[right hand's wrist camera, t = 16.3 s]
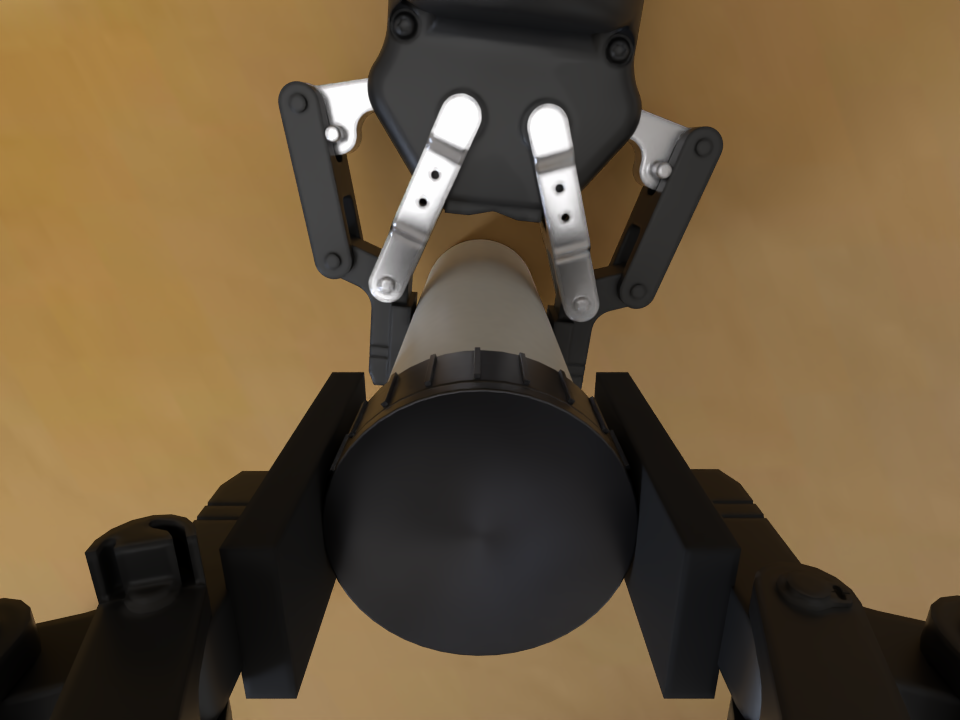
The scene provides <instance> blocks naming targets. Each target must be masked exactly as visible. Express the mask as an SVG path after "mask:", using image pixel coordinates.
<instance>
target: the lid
mask: <svg viewBox="0 0 960 720" xmlns="http://www.w3.org/2000/svg"><path fill="white" fill-rule="evenodd" d="M629 469H631V468H630V466H629V463H628V461H627V459H626V457H625V455H624V452H623V450H622V448H621V446H620V444H619V442H618V439H617V437H616V435H615V433H614V431H613V430H610V431H609V429H608V427H607V424H606V422H605V420H604V418H603V415H602V413H601V411H600V409H599V407H598V404H597V402H596V400H595V399H594V397H593V396H592V397H590V398H588V396H587V395H586V394H585V393H584V392H583V391H582V390H581V389H580V388H579V387H578V386H577V385H575V384H574V383H573V382H572V381H571V380H570V379H568V378H567V377H566V374H565V372H564V371H563V370H561V369H560V370H559V371H556V370H555V369H553V368H551V367H549V366H547V365H545V364H543V363H540V362H538V361H535V360H533V359H530V358H527V357H525V353H521V352H520V353H519V355H516V354H511V353H506V352H501V351H488V350H480V347H475V350H474V351H460V352H455V353H449V354H444V355H440V356H436V354H433V355H430V359H427V360H425V361H423V362H420V363H418V364H416V365H414V366H411V367H409V368H408V369H406V370H405V371H403V372H401V373H400V374H397V373H396V372H395V373H393V374H392V375H391V378H390V380H389V382H387V383H386V384H385V385H384V386H383V387H381V388H380V389H379V390H378V391H377V393H376V394H375V395H374V396H373V397H372V398H371V399H370V400H369V401H366V400H364V402H363V403H362V405H361V407H360V409H359V411H358V414H357V416H356V418H355V420H354V422H353V425H352V427H351V429H350V431H349V434H346V435H345V437H344V439H343V441H342V444H341V446H340V448H339V450H338V452H337V454H336V457H335V459H334V461H333V463H332V465H331V467H330V470H329V473H328V474H330V475H331V478H330V480H329V484H328V487H327V490H326V493H325V497H324V503H323V510H322V528H323V537H324V545H325V550H326V553H327V556H328V560H329V563H330V566H331V568H332V570H333V572H334V574H335V576H336V578H337V580H338V582H339V583H340V585H341V586H342V588H343V589H344V591H345V592H346V594H347V595H348V596H349V597H350V599H351V600H352V601H353V602H354V603H355V604H356V605H357V606H358V608H359V609H360V610H362V611H363V612H364V613H365V614H366V615H367V616H368V617H370V618H371V619H372V620H373V621H374V622H376V623H377V624H379V625H380V626H382V627H383V628H385V629H386V630H388V631H389V632H391V633H393V634H395V635H397V636H399V637H401V638H403V639H404V640H407V641H409V642H412V643H415V644H417V645H420V646H422V647H426V648H430V649H433V650H437V651H441V652H447V653H453V654H459V655H474V656H484V655H500V654H508V653H515V652H519V651H523V650H527V649H531V648H535V647H538V646H540V645H543V644H546V643H549V642H551V641H553V640H556V639H558V638H560V637H562V636H564V635H566V634H568V633H569V632H571V631H573V630H574V629H576V628H577V627H579V626H580V625H582V624H583V623H585V622H586V621H587V620H588V619H590V618H591V617H592V616H593V615H595V614H596V613H597V612H598V611H599V610H600V609H601V608H602V607H603V606H604V605H605V604H606V603H607V602H608V601H609V599H610V598H611V597H612V595H613V594H614V593H615V591H616V590H617V589H618V587H619V586H620V584H621V582H622V580H623V579H624V577H625V575H626V573H627V571H628V569H629V566H630V564H631V561H632V558H633V556H634V552H635V547H636V541H637V531H638V521H639V516H638V506H637V499H636V496H635V492H634V488H633V484H632V482H631V479H630V477H629V475H628V473H627V470H629Z"/></svg>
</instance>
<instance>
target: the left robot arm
mask: <svg viewBox="0 0 960 720" xmlns="http://www.w3.org/2000/svg"><path fill="white" fill-rule="evenodd" d="M643 3H644V0H389V1H388V23H387V32H386V37H385V40H384V44H383V47H382V49H381V51H380V54H379V56H378V57H377V59H376V61H375V62H374V64H373V66H372V68H371V70H370V73H369V76H368V78H366V79H360V80H353V81H346V82H339V83H332V84H326V85H319V86H315V85H312V84H309V83H303V82H299V81H294V82H290V83H288V84H286V85H285V86H284V87H283V88H282V90H281V91H280V94H279V98H278V103H279V109H280V113H281V117H282V122H283V126H284V130H285V135H286V139H287V144H288V148H289V152H290V157H291V161H292V165H293V170H294V174H295V178H296V183H297V187H298V191H299V196H300V200H301V204H302V209H303V213H304V218H305V222H306V226H307V231H308V235H309V239H310V244H311V248H312V252H313V257H314V261H315V265H316V267H317V269H318V271H319V272H320V273H321V274H322V275H324V276H325V277H327V278H330V279H339V278H342V279H344V280H346V281H348V282H350V283H352V284H355V285H357V286H359V287H360V288H362V289H363V290H364V291H365V292H366V293H367V295H368V296H369V298H370V301H371V307H372V310H371V333H370V357H369V373H370V376H371V378H372V381H373V384H374V385H383V386H384V385H385V384H386V383H387V382H388V380H389V377H390V374H391V372H392V369H393V367H394V364H395V361H396V359H397V356H398V354H399V351H400V349H401V346H402V343H403V341H404V338H405V336H406V333H407V330H408V328H409V325H410V323H411V320H412V317H413V315H414V312H415V310H416V306H417V292H412V278H413V273H414V270H415V268H416V266H417V264H418V262H419V259H420V257H421V255H422V253H423V251H424V249H425V246H426V244H427V242H428V240H429V238H430V236H431V233H432V231H433V229H434V227H435V225H436V223H437V221H438V218H439V216H440V214H441V212H442V210H443V209H445V213H454V214H463V215H472V214H478V213H484V212H490V211H495V212H498V213H500V214H503V215H505V216H508V217H510V218H513V219H515V220H520V221H529V222H538V223H539V224H540V228H541V233H542V237H543V241H544V245H545V248H546V252H547V256H548V261H549V266H550V270H551V275H552V280H553V284H554V289H555V293H556V298H555V304H554V306H552V305H548V308H547V317H548V319H549V322H550V325H551V327H552V330H553V332H554V335H555V337H556V340H557V343H558V345H559V348H560V350H561V353H562V355H563V358H564V361H565V363H566V366H567V368H568V371H569V373H570V376H571V379H572V381H573V383H574V384H575V385H577V386H578V387H579V388H580V389H581V388H582V382H583V375H584V370H585V364H586V359H587V353H588V348H589V342H590V336H591V331H592V327H593V324H594V322H595V321H596V320H597V318H598V317H599V316H601V315H602V314H603V313H606V312H608V311H611V310H616V309H620V308H624V307H630V308H633V309H640V308H643V307H645V306H647V305H648V304H650V303H651V301H652V300H653V299H654V297H655V295H656V292H657V290H658V288H659V286H660V284H661V282H662V280H663V277H664V275H665V273H666V271H667V269H668V267H669V265H670V262H671V260H672V258H673V256H674V254H675V252H676V250H677V247H678V245H679V243H680V241H681V239H682V237H683V234H684V232H685V230H686V228H687V226H688V224H689V222H690V219H691V217H692V215H693V213H694V211H695V209H696V207H697V204H698V202H699V200H700V198H701V196H702V194H703V192H704V189H705V187H706V185H707V183H708V181H709V179H710V177H711V174H712V172H713V170H714V168H715V166H716V164H717V162H718V159H719V157H720V155H721V153H722V149H723V141H722V137H721V135H720V134H719V132H718V131H717V130H715V129H714V128H711V127H692V128H687V127H684V126H682V125H679V124H677V123H674V122H672V121H669V120H667V119H664V118H662V117H659V116H657V115H654V114H652V113H649V112H647V111H644V110H642V104H641V98H640V95H639V92H638V89H637V86H636V82H635V76H634V55H635V49H636V44H637V38H638V32H639V26H640V21H641V15H642V9H643ZM374 112H375V114H376V115H377V117H378V119H379V120H380V122H381V124H382V125H383V127H384V129H385V131H386V132H387V134H388V136H389V137H390V139H391V141H392V142H393V144H394V146H395V147H396V149H397V151H398V153H399V154H400V156H401V158H402V159H403V161H404V163H405V164H406V166H407V168H408V170H409V171H410V173H411V175H412V178H411V180H410V183H409V185H408V187H407V190H406V192H405V194H404V197H403V199H402V201H401V204H400V206H399V208H398V210H397V213H396V215H395V217H394V220H393V222H392V225H391V228H390V232H389V234H388V237H387V239H386V241H385V243H384V246H383V248H382V249H381V248H379V247H377V246H375V245H372V244H370V243H368V242H366V241H364V240H363V236H362V231H361V226H360V221H359V216H358V210H357V205H356V200H355V195H354V190H353V185H352V180H351V175H350V170H349V165H348V160H347V155H346V154H349V153H352V152H354V151H355V150H356V149H357V148H358V147H359V146H360V143H361V140H362V125H363V122H364V120H365V119H366V117H367V116H368V115H370V114H371V113H374ZM627 141H628V142H629V143H630V144H631V145H632V147H633V149H634V152H635V161H634V165H633V176H634V178H635V180H636V181H637V182H638V183H639V184H640V185H642V186H643V187H642V190H641V192H640V194H639V197H638V199H637V201H636V204H635V206H634V208H633V211H632V213H631V215H630V218H629V220H628V222H627V225H626V227H625V229H624V232H623V234H622V236H621V239H620V241H619V243H618V246H617V248H616V250H615V252H614V255H613V257H612V259H611V262H610V264H609V266H607V267H603V268H599V269H595V270H593V266H592V261H591V255H590V239H589V233H588V228H587V223H586V218H585V212H584V207H583V202H582V196H581V191H582V190H583V189H584V188H585V187H586V186H587V185H588V184H589V183H590V181H591V180H592V179H593V178H594V177H595V176H596V175H597V174H598V173H599V172H600V171H601V169H602V168H603V167H604V166H605V165H606V164H607V163H608V162H609V161H610V160H611V159H612V158H613V156H614V155H615V154H616V153H617V152H618V151H619V150H620V149H621V148H622V147H623V146H624V145H625V143H626V142H627Z"/></svg>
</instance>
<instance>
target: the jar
mask: <svg viewBox="0 0 960 720" xmlns="http://www.w3.org/2000/svg"><path fill="white" fill-rule="evenodd" d="M475 347H480V350H488V351H501V352H506V353H511V354H516V355H519V353H520V352H521V353H525V357H527V358H530V359H533V360H535V361H538V362H540V363H543V364H545V365H547V366H549V367H551V368H553V369H555V370H556V371H559V370H560V369H561V370H563V371H564V372H565V374H566V377H567V378H568V379H570V380H571V381H572V379H571V376H570V373H569V371H568V368H567V366H566V363H565V361H564V358H563V355H562V353H561V350H560V348H559V345H558V343H557V340H556V337H555V335H554V332H553V330H552V327H551V325H550V322H549V319H548V317H547V314H546V312H545V309H544V307H543V304H542V301H541V299H540V296H539V294H538V291H537V289H536V286H535V283H534V281H533V278H532V276H531V273H530V271H529V269H528V267H527V265H526V264H525V262H524V261H523V260H522V258H521V257H520V256H519V255H518V254H517V253H516V252H515V251H513V250H512V249H510V248H509V247H507V246H505V245H503V244H501V243H498V242H495V241H491V240H483V239H478V240H469V241H465V242H462V243H459V244H457V245H455V246H453V247H451V248H450V249H448V250H447V251H446V252H445V253H443V254H442V255H441V256H440V257H439V259H438V260H437V261H436V262H435V264H434V265H433V267H432V269H431V271H430V274H429V276H428V279H427V281H426V284H425V286H424V289H423V292H422V294H421V297H420V299H419V302H418V305H417V307H416V310H415V312H414V315H413V317H412V320H411V323H410V325H409V328H408V330H407V333H406V336H405V338H404V341H403V343H402V346H401V349H400V351H399V354H398V356H397V359H396V361H395V364H394V367H393V369H392V372H391V374H390V377H389V380H390V378H391V375H392V374H393V373H395V372H396V373H397V374H400V373H401V372H403V371H405V370H406V369H408V368H409V367H411V366H414V365H416V364H418V363H420V362H423V361H425V360H427V359H430V355H433V354H436V356H440V355H444V354H449V353H455V352H460V351H474V350H475ZM389 380H388V382H389ZM572 382H573V381H572Z"/></svg>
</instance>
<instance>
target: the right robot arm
mask: <svg viewBox="0 0 960 720" xmlns="http://www.w3.org/2000/svg"><path fill="white" fill-rule="evenodd" d="M594 399H595V400H596V402H597V404H598V407H599V409H600V411H601V413H602V415H603V418H604V420H605V422H606V424H607V427H608V429H609V431H610V430H613V431H614V433H615V435H616V437H617V439H618V442H619V444H620V446H621V448H622V450H623V452H624V455H625V457H626V459H627V461H628V463H629V466H630V468H631V469H629V470H627V473H628V475H629V477H630V479H631V482H632V484H633V488H634V492H635V496H636V499H637V506H638V516H639V521H638V531H637V541H636V547H635V552H634V556H633V558H632V561H631V564H630V566H629V569H628V571H627V573H626V575H625V577H624V579H625V582H626V585H627V588H628V591H629V594H630V597H631V600H632V603H633V606H634V609H635V612H636V615H637V619H638V622H639V625H640V628H641V631H642V634H643V637H644V640H645V643H646V646H647V649H648V652H649V655H650V658H651V661H652V664H653V667H654V670H655V673H656V676H657V679H658V682H659V685H660V688H661V691H662V694H663V697H664V699H714V696H715V691H716V685H717V680H718V674H719V669H720V671H721V673H722V676H723V678H724V680H725V682H726V684H727V687H728V689H729V691H730V693H731V695H732V696H731V701H730V706H729V711H728V717H727V720H960V596H949V597H941V598H939V599H938V600H937V601H935V602H934V603H933V604H932V605H931V607H930V610H929V613H928V616H927V619H926V621H921V620H917V619H912V618H908V617H903V616H899V615H894V614H890V613H885V612H880V611H876V610H873V609H869V608H866V607H863V606H862V604H861V602H860V601H859V599H858V598H857V597H856V595H855V594H854V592H853V591H852V590H851V589H850V588H849V587H848V586H846V585H845V584H844V583H842V582H841V581H840V580H839V579H837V578H836V577H834V576H832V575H830V574H828V573H826V572H824V571H822V570H820V569H818V568H815V567H811V566H808V565H804V564H801V563H800V562H799V560H798V559H797V558H796V556H795V555H794V554H793V552H792V551H791V550H790V549H789V547H788V546H787V545H786V543H785V542H784V541H783V539H782V538H781V537H780V535H779V534H778V533H777V531H776V530H775V529H774V528H773V526H772V525H771V524H770V522H769V521H768V520H767V518H764V514H763V513H762V512H761V510H760V509H759V508H758V507H757V505H756V504H753V500H752V499H751V497H750V496H749V495H748V493H747V492H746V491H745V489H744V488H743V487H742V486H741V484H740V483H738V482H737V481H735V480H734V479H732V478H731V477H729V476H728V475H726V474H725V473H723V472H722V471H720V470H719V469H690V468H689V466H688V465H687V463H686V462H685V460H684V459H683V457H682V456H681V454H680V452H679V451H678V449H677V448H676V446H675V445H674V443H673V442H672V440H671V438H670V437H669V435H668V434H667V432H666V431H665V429H664V428H663V426H662V424H661V423H660V421H659V420H658V418H657V417H656V415H655V414H654V412H653V410H652V409H651V407H650V406H649V404H648V403H647V401H646V400H645V398H644V396H643V395H642V393H641V392H640V390H639V389H638V387H637V386H636V384H635V382H634V381H633V379H632V378H631V376H630V375H629V373H628V372H596V383H595V397H594ZM364 400H366V392H365V378H364V372H332V374H331V375H330V377H329V378H328V380H327V382H326V383H325V385H324V386H323V388H322V389H321V391H320V392H319V394H318V396H317V397H316V399H315V400H314V402H313V403H312V405H311V406H310V408H309V409H308V411H307V413H306V414H305V416H304V417H303V419H302V420H301V422H300V423H299V425H298V427H297V428H296V430H295V431H294V433H293V434H292V436H291V437H290V439H289V441H288V442H287V444H286V445H285V447H284V448H283V450H282V451H281V453H280V455H279V456H278V458H277V459H276V461H275V462H274V464H273V465H272V467H271V469H270V470H269V471H242V472H240V473H239V474H237V475H236V476H234V477H233V478H231V479H230V480H228V481H227V482H225V483H224V484H222V485H221V486H220V487H219V488H218V490H217V491H216V492H215V494H214V495H213V496H212V498H211V499H210V500H209V502H208V506H205V507H204V508H203V510H202V511H201V512H200V514H199V515H198V516H197V520H194V521H193V523H192V522H191V521H190V520H188V519H187V518H185V517H181V516H176V515H172V514H170V515H152V516H148V517H144V518H139V519H135V520H132V521H129V522H127V523H125V524H122V525H120V526H118V527H115V528H113V529H111V530H110V531H108V532H107V533H105V534H104V535H102V536H101V537H99V538H98V539H96V540H95V541H94V542H93V543H92V545H91V546H90V547H89V548H88V549H87V551H86V552H85V555H86V559H87V563H88V566H89V570H90V573H91V577H92V581H93V584H94V588H95V592H96V595H97V599H98V602H99V605H98V607H97V609H96V610H93V611H90V612H86V613H82V614H78V615H73V616H69V617H64V618H60V619H55V620H51V621H46V622H42V623H37V624H35V621H34V617H33V614H32V611H31V608H30V607H29V606H28V605H26V604H25V603H24V602H23V601H21V600H16V599H8V598H1V599H0V720H232V712H231V706H230V701H229V697H230V695H231V693H232V691H233V688H234V686H235V684H236V682H237V679H238V677H239V675H240V673H241V672H242V678H243V683H244V689H245V694H246V699H296V698H297V695H298V692H299V689H300V686H301V683H302V680H303V677H304V674H305V671H306V668H307V665H308V662H309V659H310V656H311V653H312V650H313V647H314V644H315V641H316V638H317V635H318V632H319V629H320V626H321V623H322V620H323V617H324V614H325V611H326V607H327V604H328V601H329V598H330V595H331V592H332V589H333V586H334V583H335V580H336V576H335V574H334V572H333V570H332V568H331V566H330V563H329V560H328V556H327V553H326V550H325V545H324V537H323V528H322V510H323V503H324V497H325V493H326V490H327V487H328V484H329V480H330V478H331V475H330V474H328V473H329V470H330V467H331V465H332V463H333V461H334V459H335V457H336V454H337V452H338V450H339V448H340V446H341V444H342V441H343V439H344V437H345V435H346V434H349V431H350V429H351V427H352V425H353V422H354V420H355V418H356V416H357V414H358V411H359V409H360V407H361V405H362V403H363V402H364Z"/></svg>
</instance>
